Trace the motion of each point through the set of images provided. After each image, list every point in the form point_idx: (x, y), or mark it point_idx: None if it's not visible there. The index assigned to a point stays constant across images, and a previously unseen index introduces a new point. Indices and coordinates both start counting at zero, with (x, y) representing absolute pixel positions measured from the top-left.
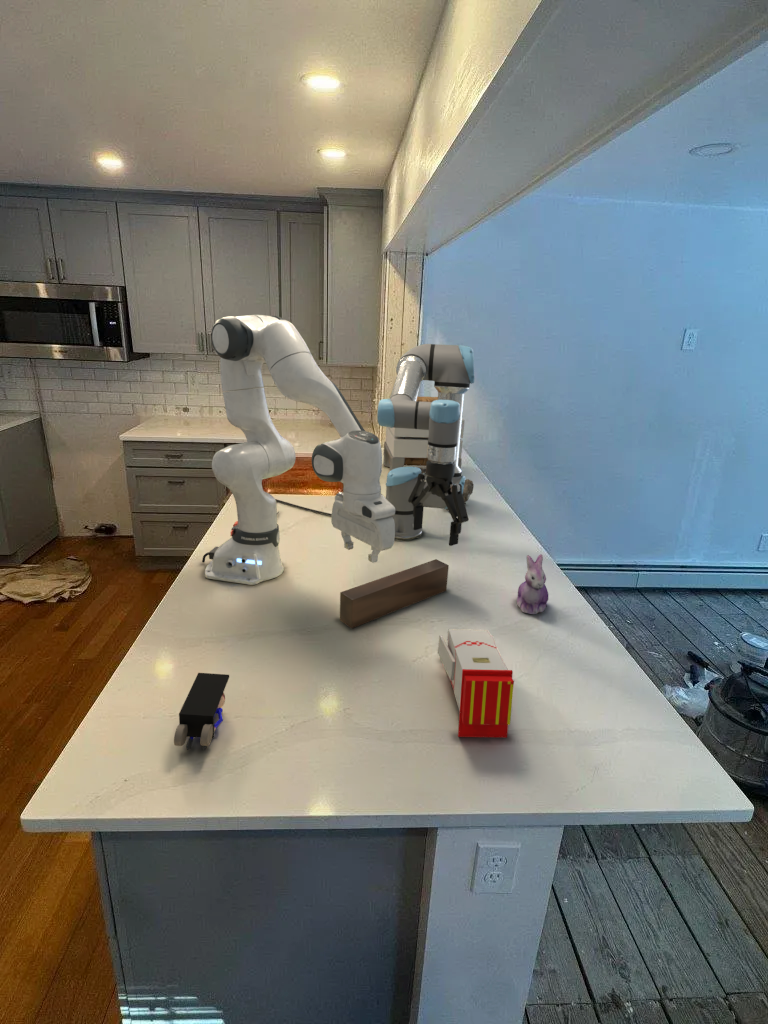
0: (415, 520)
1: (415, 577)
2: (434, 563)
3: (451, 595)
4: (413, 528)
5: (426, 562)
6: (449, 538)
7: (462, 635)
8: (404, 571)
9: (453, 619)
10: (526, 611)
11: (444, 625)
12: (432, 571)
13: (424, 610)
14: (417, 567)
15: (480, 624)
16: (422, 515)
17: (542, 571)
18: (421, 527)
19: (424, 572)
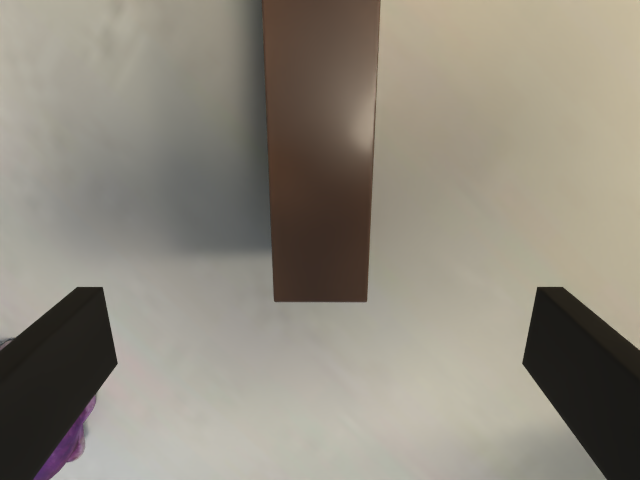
0: (603, 342)
1: (263, 37)
2: (332, 258)
3: (246, 236)
4: (566, 292)
5: (368, 233)
6: (66, 321)
7: None
8: (362, 34)
9: (90, 98)
10: (2, 346)
11: (67, 27)
12: (269, 182)
13: (210, 50)
14: (354, 145)
15: (13, 158)
16: (599, 460)
17: None
18: (527, 362)
19: (281, 131)
